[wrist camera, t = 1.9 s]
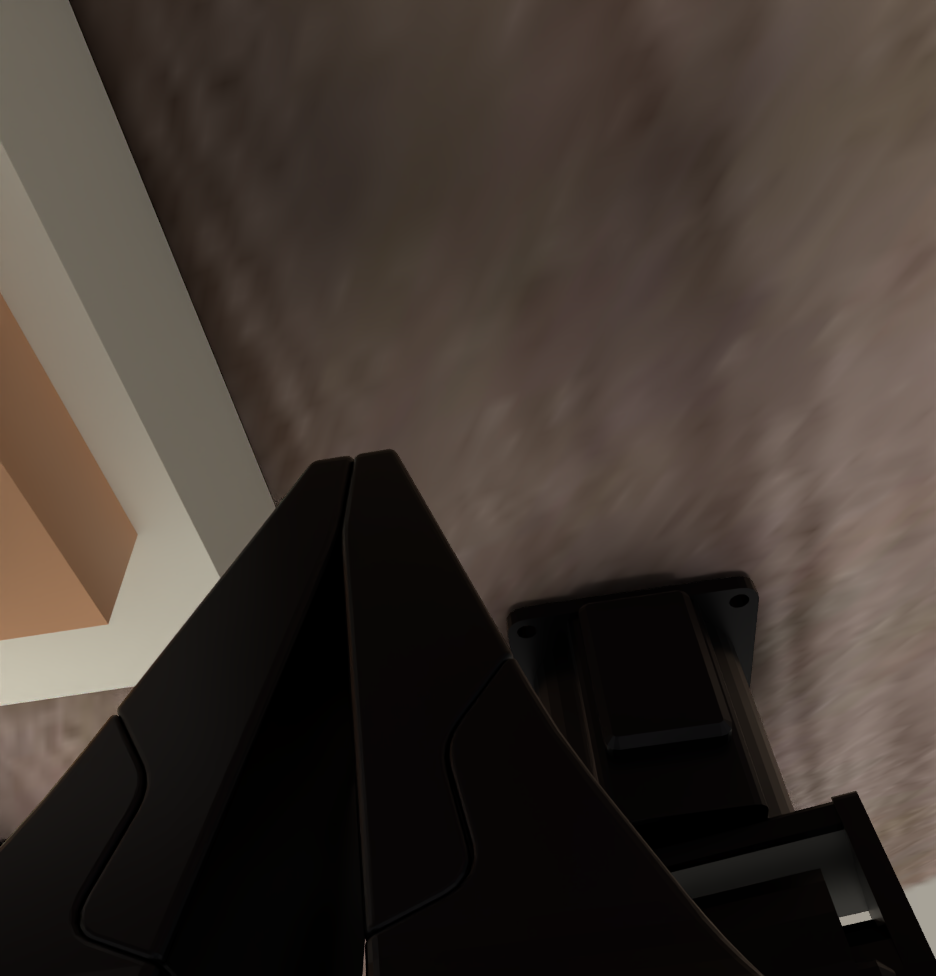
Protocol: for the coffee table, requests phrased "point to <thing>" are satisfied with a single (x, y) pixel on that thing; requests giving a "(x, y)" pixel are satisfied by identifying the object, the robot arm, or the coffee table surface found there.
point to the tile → (51, 506)
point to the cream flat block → (112, 357)
